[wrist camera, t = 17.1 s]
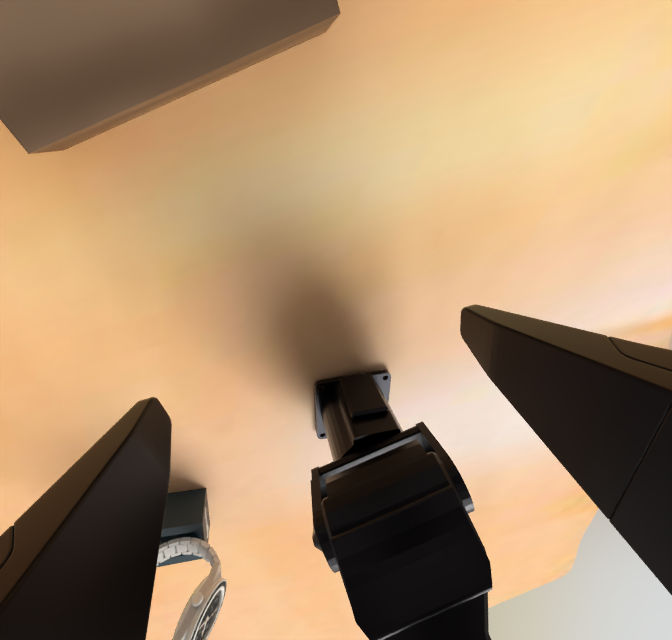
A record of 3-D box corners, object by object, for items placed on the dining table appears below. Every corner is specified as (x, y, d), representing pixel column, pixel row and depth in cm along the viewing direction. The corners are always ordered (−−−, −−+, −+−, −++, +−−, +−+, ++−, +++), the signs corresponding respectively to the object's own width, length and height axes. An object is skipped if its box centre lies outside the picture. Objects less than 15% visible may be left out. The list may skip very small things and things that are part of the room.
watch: (230, 519, 33) (224, 671, 24) (141, 534, 31) (96, 707, 22) (228, 484, 30) (221, 639, 21) (131, 497, 28) (75, 676, 19)
